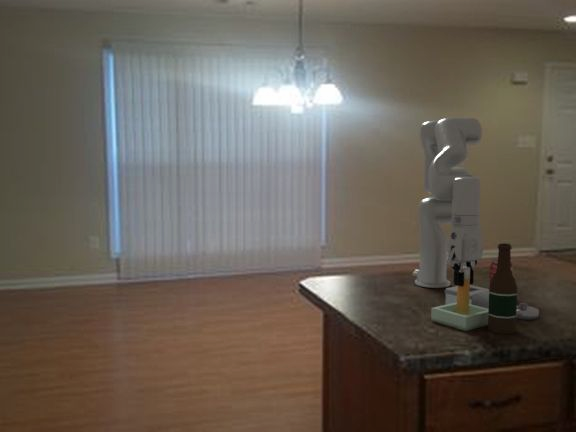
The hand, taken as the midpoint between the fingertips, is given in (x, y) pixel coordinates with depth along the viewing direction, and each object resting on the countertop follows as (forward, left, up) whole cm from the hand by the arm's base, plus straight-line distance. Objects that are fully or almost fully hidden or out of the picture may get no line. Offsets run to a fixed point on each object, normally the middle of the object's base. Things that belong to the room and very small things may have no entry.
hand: (463, 283), depth 184 cm
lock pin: (0, 0, -8) cm, 8 cm away
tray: (0, 0, -11) cm, 11 cm away
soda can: (-9, +30, -11) cm, 33 cm away
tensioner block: (-9, +14, -11) cm, 20 cm away
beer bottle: (+12, +2, -11) cm, 17 cm away
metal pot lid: (+6, +20, -11) cm, 24 cm away
